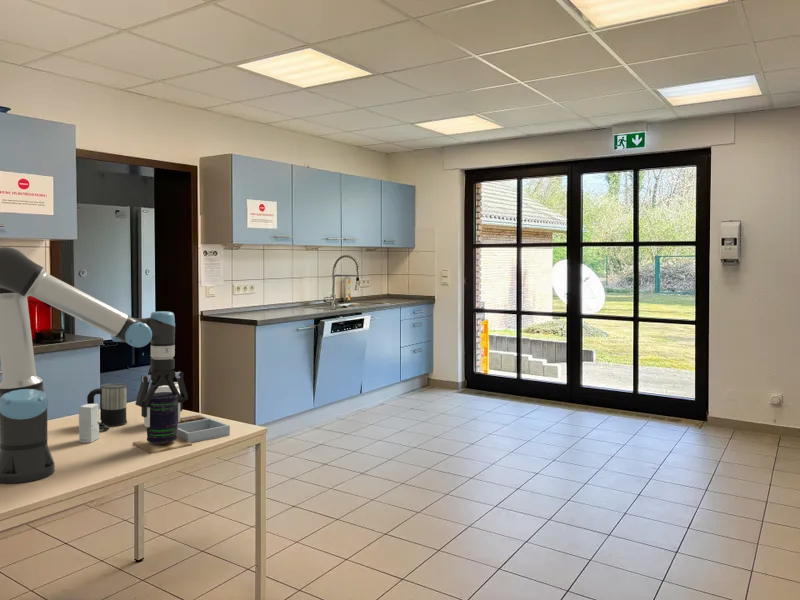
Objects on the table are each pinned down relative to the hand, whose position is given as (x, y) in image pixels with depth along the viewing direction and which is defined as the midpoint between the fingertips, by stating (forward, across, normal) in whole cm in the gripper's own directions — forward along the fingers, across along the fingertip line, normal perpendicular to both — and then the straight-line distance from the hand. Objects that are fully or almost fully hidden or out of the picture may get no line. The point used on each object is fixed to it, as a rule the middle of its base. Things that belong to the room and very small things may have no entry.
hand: (162, 423), depth 209 cm
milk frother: (+7, -4, +35) cm, 36 cm away
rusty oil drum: (+5, 0, 0) cm, 5 cm away
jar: (+7, +14, +27) cm, 31 cm away
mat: (+7, 0, 0) cm, 7 cm away
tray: (+7, +15, +7) cm, 18 cm away
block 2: (+7, +20, +14) cm, 25 cm away
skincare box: (+7, -16, +21) cm, 27 cm away
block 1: (+7, +15, +14) cm, 22 cm away
